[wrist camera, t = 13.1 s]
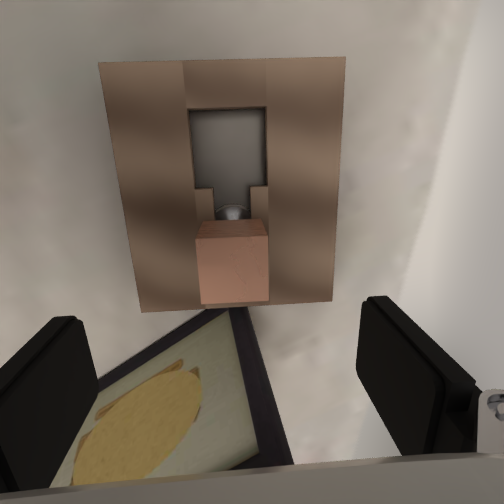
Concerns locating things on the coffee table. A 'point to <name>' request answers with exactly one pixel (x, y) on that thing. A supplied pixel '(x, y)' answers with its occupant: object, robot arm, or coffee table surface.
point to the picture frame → (182, 409)
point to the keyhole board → (202, 199)
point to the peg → (232, 257)
